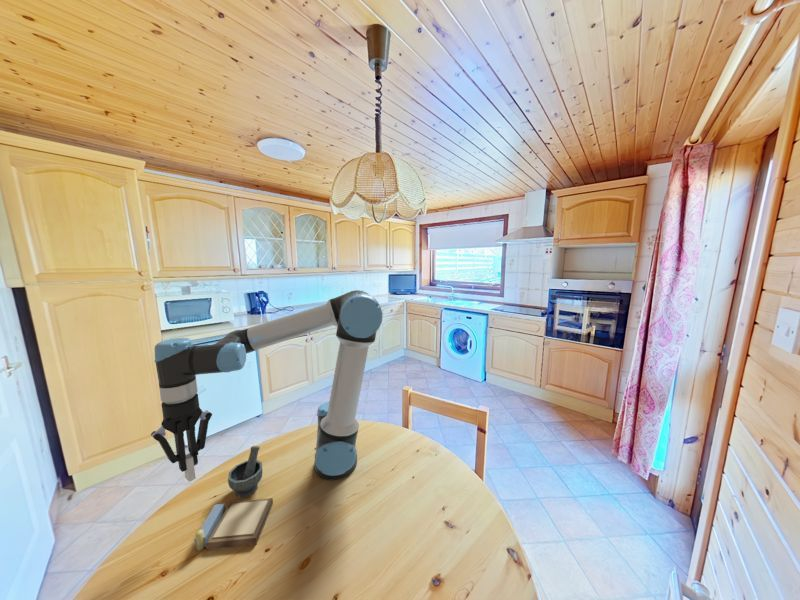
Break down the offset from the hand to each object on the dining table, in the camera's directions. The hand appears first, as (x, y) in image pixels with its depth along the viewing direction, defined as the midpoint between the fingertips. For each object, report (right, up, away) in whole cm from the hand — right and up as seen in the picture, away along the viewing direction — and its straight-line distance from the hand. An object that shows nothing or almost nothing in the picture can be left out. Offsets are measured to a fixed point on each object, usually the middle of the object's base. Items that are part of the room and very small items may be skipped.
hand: (190, 478), depth 74 cm
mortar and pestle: (+8, -13, +14) cm, 20 cm away
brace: (+6, -14, 0) cm, 15 cm away
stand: (+14, -14, +1) cm, 20 cm away
